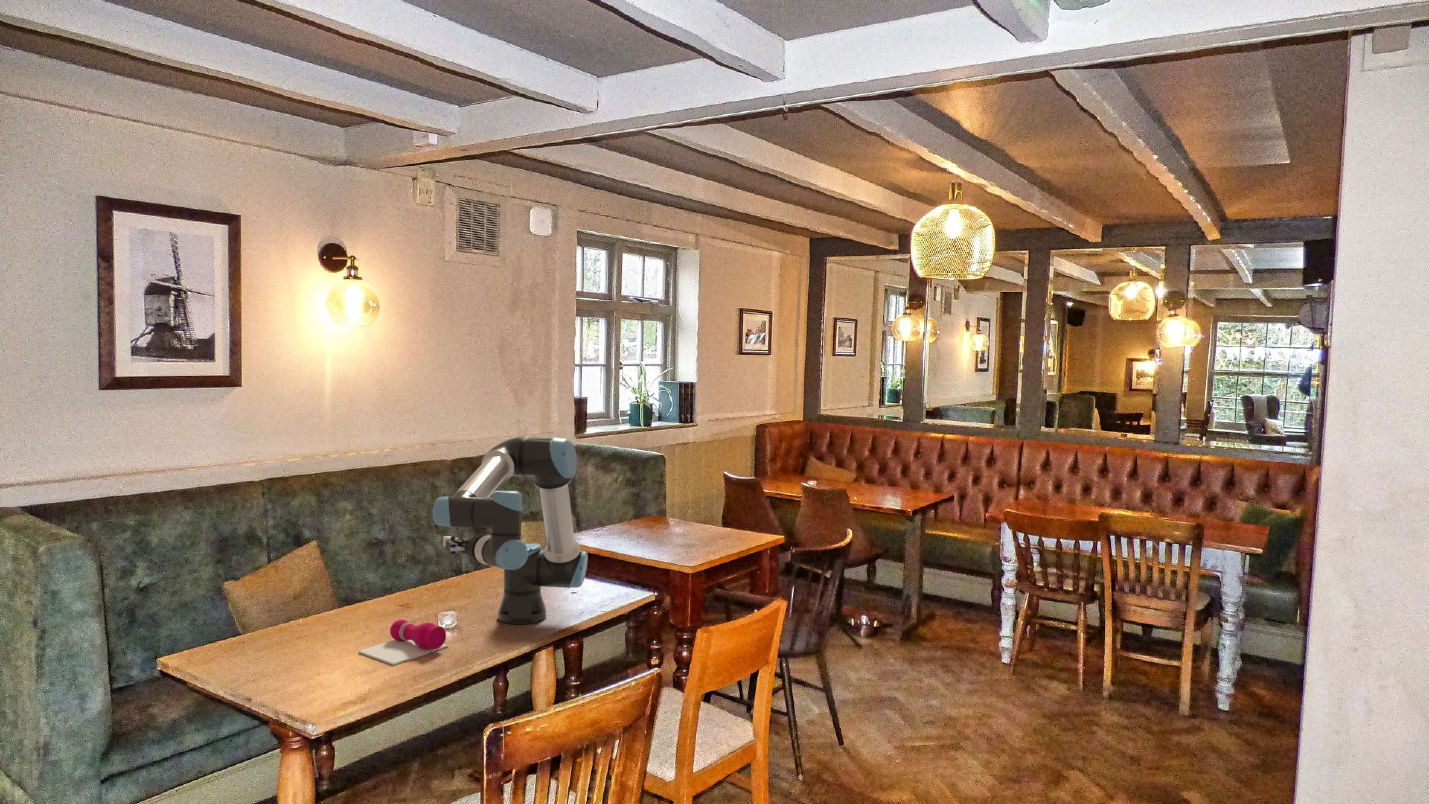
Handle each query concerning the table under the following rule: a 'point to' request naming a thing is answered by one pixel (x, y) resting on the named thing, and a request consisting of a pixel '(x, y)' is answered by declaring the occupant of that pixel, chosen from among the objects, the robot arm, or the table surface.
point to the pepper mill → (419, 634)
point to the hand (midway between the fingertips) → (445, 541)
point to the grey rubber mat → (397, 651)
